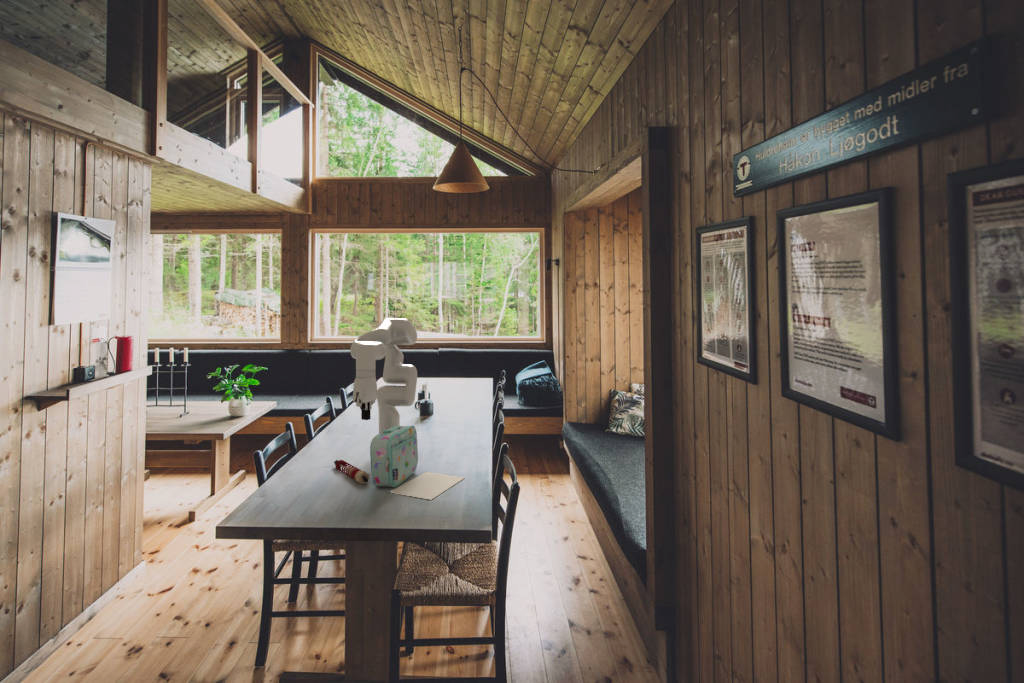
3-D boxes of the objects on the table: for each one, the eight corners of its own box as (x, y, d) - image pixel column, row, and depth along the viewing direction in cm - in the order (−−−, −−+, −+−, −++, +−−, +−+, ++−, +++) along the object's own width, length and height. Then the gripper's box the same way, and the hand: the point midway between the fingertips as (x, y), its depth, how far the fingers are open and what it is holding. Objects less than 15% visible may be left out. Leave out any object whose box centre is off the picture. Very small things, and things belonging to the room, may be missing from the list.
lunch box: (393, 493, 194) (393, 436, 193) (368, 490, 196) (367, 434, 195) (420, 470, 221) (420, 420, 219) (397, 468, 223) (397, 419, 221)
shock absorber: (328, 460, 222) (359, 478, 199) (338, 454, 225) (370, 471, 202) (332, 470, 224) (364, 488, 201) (342, 464, 226) (374, 481, 204)
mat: (388, 493, 194) (388, 492, 194) (426, 472, 218) (426, 471, 218) (431, 500, 187) (431, 499, 187) (464, 478, 211) (464, 477, 211)
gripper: (369, 371, 219) (369, 415, 220) (345, 375, 205) (346, 422, 206) (384, 372, 216) (384, 416, 217) (361, 376, 202) (361, 423, 203)
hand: (365, 419), depth 212 cm, fingers closed
